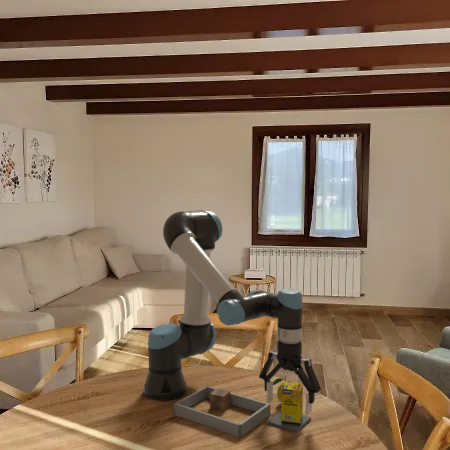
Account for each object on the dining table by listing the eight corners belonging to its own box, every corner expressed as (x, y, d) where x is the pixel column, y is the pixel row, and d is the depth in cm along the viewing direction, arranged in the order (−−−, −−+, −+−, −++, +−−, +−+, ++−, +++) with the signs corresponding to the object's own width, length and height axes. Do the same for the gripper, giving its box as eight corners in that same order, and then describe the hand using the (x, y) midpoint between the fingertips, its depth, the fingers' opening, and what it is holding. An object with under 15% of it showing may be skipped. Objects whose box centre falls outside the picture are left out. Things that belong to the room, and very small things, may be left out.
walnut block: (210, 408, 164) (210, 393, 163) (216, 402, 168) (216, 388, 168) (223, 411, 162) (223, 396, 161) (230, 405, 166) (229, 390, 166)
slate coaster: (267, 423, 153) (267, 421, 153) (282, 411, 161) (282, 409, 161) (296, 432, 147) (296, 430, 147) (310, 419, 155) (310, 417, 155)
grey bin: (173, 414, 159) (173, 403, 159) (206, 395, 174) (206, 385, 173) (240, 437, 145) (240, 425, 144) (270, 414, 159) (270, 403, 159)
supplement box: (300, 425, 150) (300, 390, 149) (281, 423, 151) (281, 388, 151) (303, 417, 155) (303, 383, 155) (284, 414, 157) (284, 381, 156)
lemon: (271, 405, 166) (271, 376, 165) (280, 399, 171) (280, 370, 170) (289, 410, 162) (289, 380, 161) (297, 404, 167) (298, 375, 166)
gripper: (248, 336, 156) (248, 401, 158) (322, 351, 142) (320, 422, 144) (261, 330, 162) (260, 393, 164) (332, 344, 148) (331, 413, 150)
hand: (288, 407), depth 154 cm, fingers open, 13 cm apart
